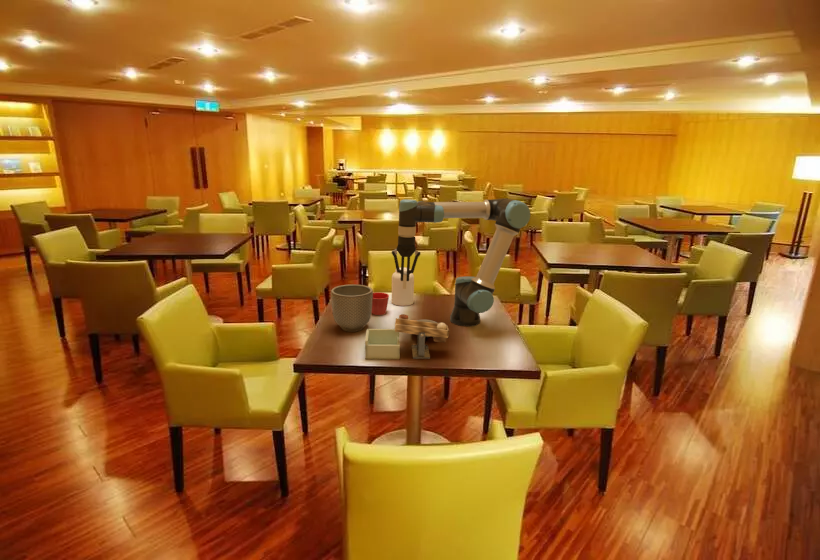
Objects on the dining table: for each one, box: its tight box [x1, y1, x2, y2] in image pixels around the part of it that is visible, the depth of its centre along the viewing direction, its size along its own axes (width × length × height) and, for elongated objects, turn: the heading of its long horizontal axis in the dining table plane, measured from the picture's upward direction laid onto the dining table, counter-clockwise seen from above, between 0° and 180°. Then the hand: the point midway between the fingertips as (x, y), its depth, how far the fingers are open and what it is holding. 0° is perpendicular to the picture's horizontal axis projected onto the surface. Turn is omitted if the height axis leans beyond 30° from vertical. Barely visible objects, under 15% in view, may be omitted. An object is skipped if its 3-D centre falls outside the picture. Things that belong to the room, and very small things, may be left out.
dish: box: [415, 319, 438, 338], centre depth 208 cm, size 18×14×5 cm
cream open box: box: [364, 328, 401, 360], centre depth 189 cm, size 14×13×8 cm
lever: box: [394, 313, 450, 344], centre depth 194 cm, size 22×18×6 cm
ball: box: [437, 322, 446, 330], centre depth 188 cm, size 4×4×4 cm
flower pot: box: [371, 292, 390, 316], centre depth 237 cm, size 11×11×10 cm
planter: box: [330, 284, 374, 333], centre depth 214 cm, size 20×20×19 cm
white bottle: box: [391, 266, 415, 307], centre depth 253 cm, size 12×12×20 cm
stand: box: [411, 332, 431, 360], centre depth 190 cm, size 7×12×11 cm, turn 2°
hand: (404, 287), depth 202 cm, fingers closed
